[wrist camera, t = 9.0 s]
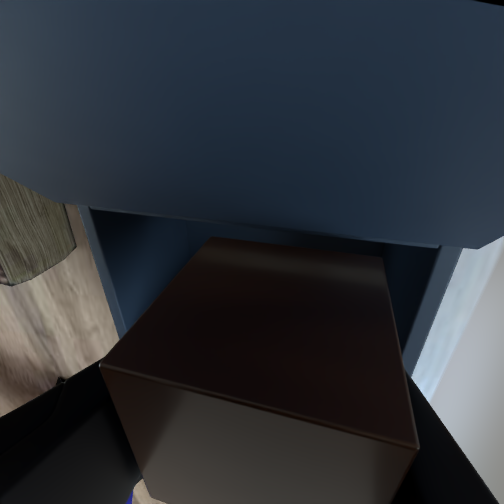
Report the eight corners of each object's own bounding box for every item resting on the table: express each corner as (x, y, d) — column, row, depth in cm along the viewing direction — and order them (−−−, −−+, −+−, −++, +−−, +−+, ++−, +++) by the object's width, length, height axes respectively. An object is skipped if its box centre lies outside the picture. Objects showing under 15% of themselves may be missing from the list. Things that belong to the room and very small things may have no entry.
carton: (173, 152, 15) (53, 201, 9) (414, 165, 12) (481, 248, 6) (198, 339, 21) (139, 442, 15) (359, 374, 19) (365, 514, 13)
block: (382, 256, 7) (423, 449, 3) (352, 377, 9) (356, 574, 6) (210, 234, 8) (95, 364, 4) (220, 348, 10) (149, 498, 7)
